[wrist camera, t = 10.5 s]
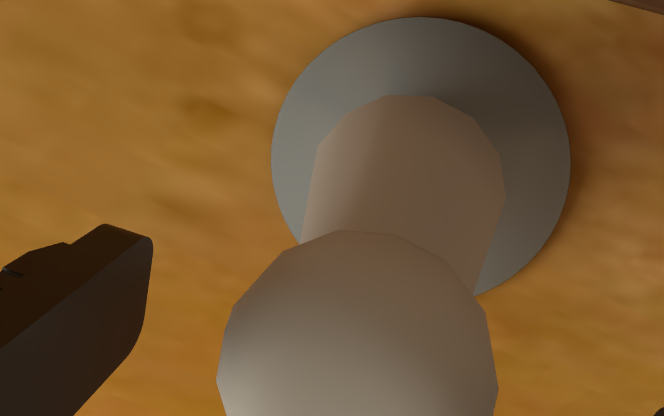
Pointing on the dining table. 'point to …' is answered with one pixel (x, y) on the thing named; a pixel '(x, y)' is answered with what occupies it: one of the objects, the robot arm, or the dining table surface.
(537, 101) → the slate coaster
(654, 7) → the walnut box
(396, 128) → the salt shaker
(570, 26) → the dining table surface
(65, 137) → the dining table surface
